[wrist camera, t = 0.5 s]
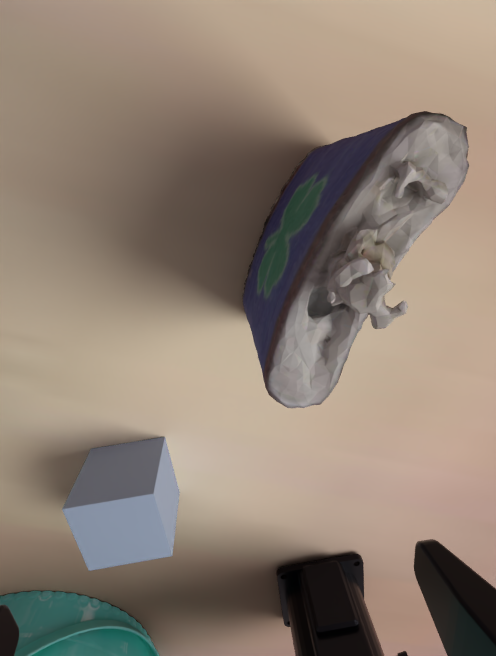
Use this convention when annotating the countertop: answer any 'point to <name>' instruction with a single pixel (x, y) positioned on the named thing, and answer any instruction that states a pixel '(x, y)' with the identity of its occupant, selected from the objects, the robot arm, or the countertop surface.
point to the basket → (74, 626)
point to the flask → (344, 247)
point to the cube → (124, 504)
